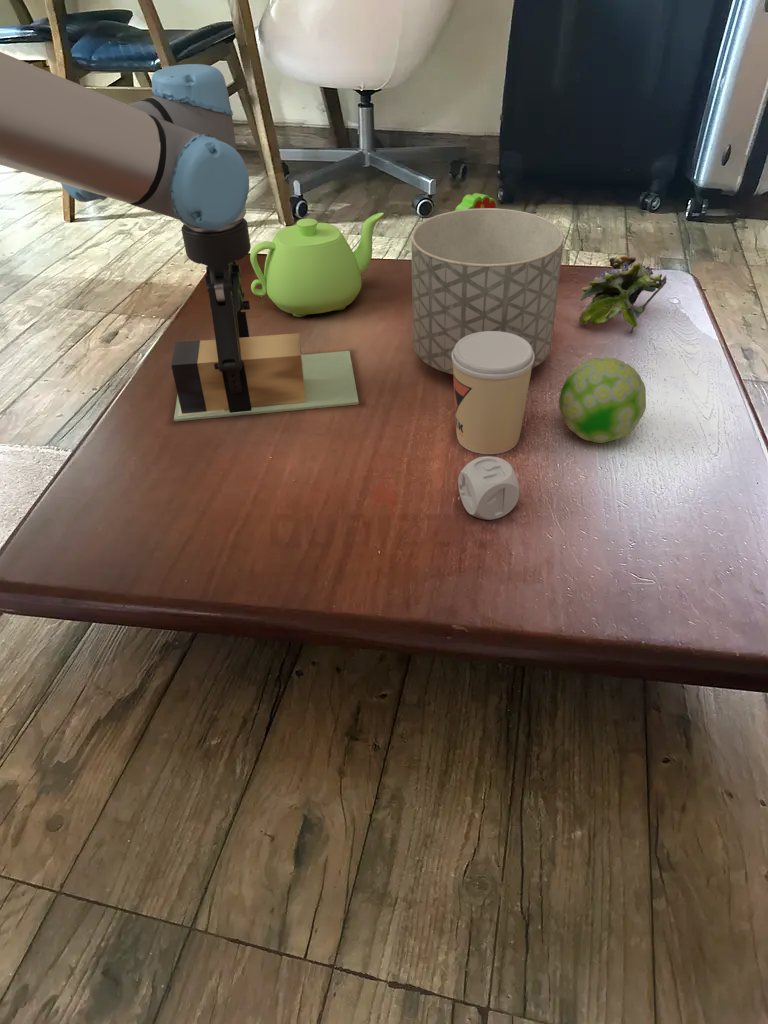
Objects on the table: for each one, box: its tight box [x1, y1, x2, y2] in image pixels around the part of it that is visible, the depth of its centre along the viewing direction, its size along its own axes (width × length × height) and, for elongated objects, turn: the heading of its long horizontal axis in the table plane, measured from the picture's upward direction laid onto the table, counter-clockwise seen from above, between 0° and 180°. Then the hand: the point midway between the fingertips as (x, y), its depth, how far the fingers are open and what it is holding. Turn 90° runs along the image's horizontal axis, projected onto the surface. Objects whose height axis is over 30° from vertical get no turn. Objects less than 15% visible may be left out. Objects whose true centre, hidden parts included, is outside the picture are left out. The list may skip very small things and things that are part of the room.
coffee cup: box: [452, 331, 534, 455], centre depth 92 cm, size 9×9×12 cm
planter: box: [410, 207, 565, 375], centre depth 104 cm, size 19×19×18 cm
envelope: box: [173, 350, 360, 423], centre depth 107 cm, size 24×14×1 cm, turn 97°
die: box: [457, 455, 520, 521], centre depth 84 cm, size 5×5×5 cm
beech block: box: [170, 332, 306, 413], centre depth 102 cm, size 16×6×7 cm, turn 97°
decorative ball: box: [558, 356, 647, 444], centre depth 92 cm, size 10×10×10 cm
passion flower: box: [579, 255, 668, 335], centre depth 115 cm, size 11×11×12 cm
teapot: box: [249, 212, 384, 318], centre depth 122 cm, size 22×15×13 cm
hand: (241, 382), depth 103 cm, fingers open, 13 cm apart
